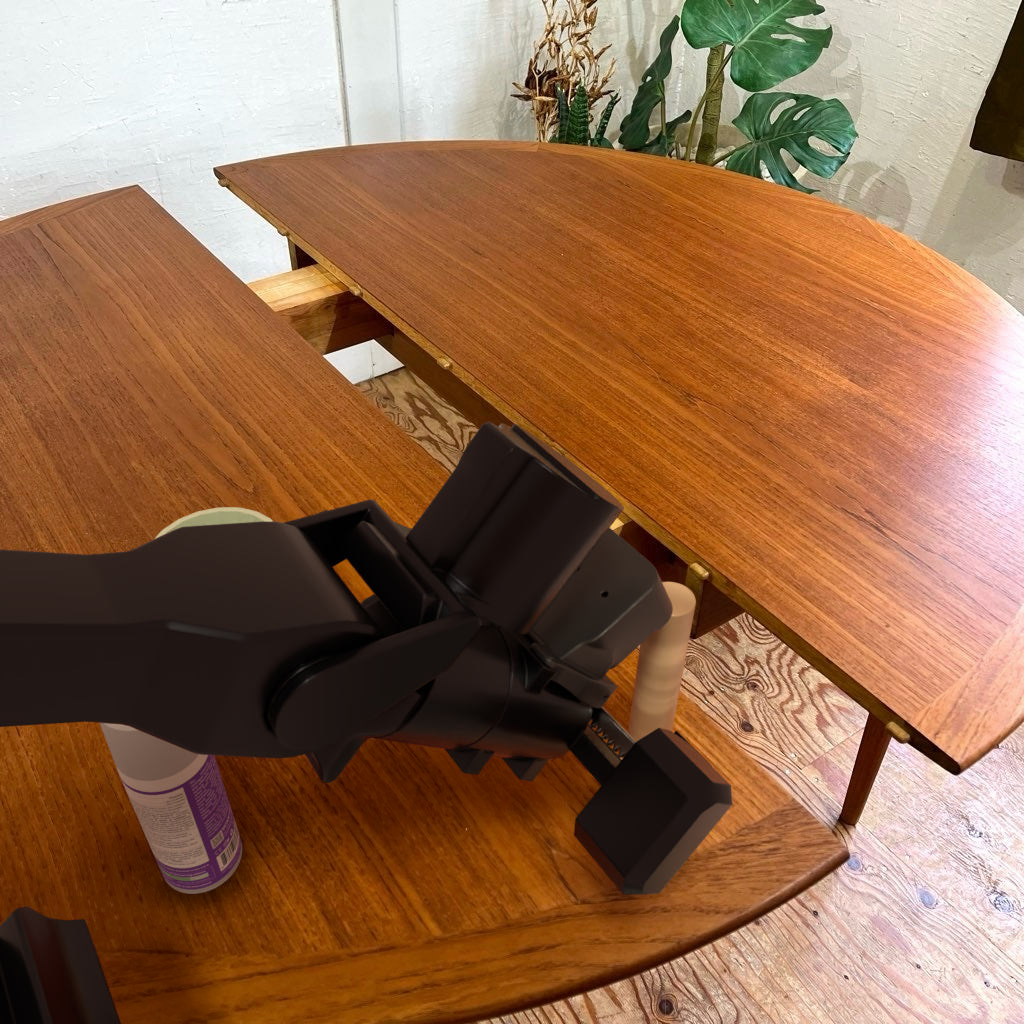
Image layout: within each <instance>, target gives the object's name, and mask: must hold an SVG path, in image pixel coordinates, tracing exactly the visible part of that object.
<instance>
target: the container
mask: <svg viewBox="0 0 1024 1024" xmlns="http://www.w3.org/2000/svg"><path fill="white" fill-rule="evenodd" d="M99 725H100V728H101V730H102V731H101V732H102V734H103V736H104V739H105V741H106V744H107V747H108V749H109V751H110V752H109V753H110V755H111V757H112V760H113V763H114V765H115V767H116V771H117V773H118V775H119V778H120V780H121V782H122V785H123V788H124V790H125V792H126V793H127V797H128V799H129V801H130V803H131V806H132V808H133V810H134V812H135V815H136V817H137V819H138V822H139V824H140V826H141V829H142V832H143V833H144V836H145V838H146V840H147V842H148V845H149V847H150V850H151V853H152V854H153V856H154V859H155V861H156V864H157V866H158V868H159V871H160V874H161V875H162V877H163V879H164V881H165V883H167V885H168V886H169V887H170V888H172V889H173V890H175V891H177V892H180V893H183V894H189V895H190V894H192V895H197V894H202V893H203V894H204V893H207V892H210V891H212V890H214V889H216V888H218V887H220V886H221V885H222V884H224V883H225V882H227V881H228V880H229V879H230V878H231V877H232V875H234V873H235V872H236V870H237V868H238V867H239V865H240V862H241V859H242V855H243V843H242V840H241V836H240V832H239V829H238V826H237V823H236V819H235V817H234V813H233V810H232V806H231V804H230V800H229V797H228V794H227V792H226V787H225V785H224V782H223V778H222V775H221V771H220V769H219V766H218V763H217V759H216V755H201V754H196V753H193V752H190V751H188V750H185V749H183V748H180V747H178V746H176V745H173V744H171V743H168V742H166V741H164V740H161V739H159V738H156V737H154V736H152V735H149V734H147V733H144V732H142V731H139V730H137V729H135V728H132V727H130V726H126V725H122V724H109V723H99Z"/></svg>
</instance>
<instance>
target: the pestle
mask: <svg viewBox="0 0 1024 1024" xmlns="http://www.w3.org/2000/svg"><path fill="white" fill-rule="evenodd" d="M662 583H663V585H664V588H665V590H666V592H667V594H668V596H669V598H670V600H671V603H672V606H673V612H672V615H671V618H670V619H669V621H668V622H667V623H666V624H665V625H664V626H663V627H662V628H661V629H660V630H657V631H655V632H653V633H652V634H651V635H650V636H649V637H648V638H647V639H646V640H645V641H644V642H643V643H641V644H640V645H639V647H638V648H639V649H638V655H637V656H638V657H637V664H636V672H635V679H634V686H633V692H632V700H631V707H630V714H629V722H628V730H627V732H628V733H629V734H630V735H631V736H632V737H633V738H634V739H635V740H636V741H638V740H640V739H641V738H643V737H645V736H646V735H648V734H649V733H651V732H653V731H654V730H656V729H658V728H662V729H666V730H670V731H671V732H673V729H674V723H675V717H676V713H677V707H678V701H679V696H680V692H681V685H682V680H683V675H684V669H685V665H686V659H687V654H688V648H689V642H690V638H691V637H690V636H691V631H692V625H693V621H694V615H695V611H696V604H697V602H696V601H697V600H696V596H695V594H694V592H693V591H692V590H691V589H690V588H689V587H687V586H685V585H684V584H681V583H679V582H676V581H675V582H674V581H662ZM623 758H624V757H623ZM623 758H621V759H623Z"/></svg>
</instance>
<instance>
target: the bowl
mask: <svg viewBox="0 0 1024 1024" xmlns="http://www.w3.org/2000/svg"><path fill="white" fill-rule="evenodd" d="M262 521H267V522H274V520H273V519H272V518H271V517H268V516H267V515H265V514H264V513H262V512H259V511H257V510H253V509H248V508H244V507H238V506H219V507H213V508H209V509H203V510H198V511H196V512H193V513H190V514H187V515H185V516H183V517H180V518H178V519H176V520H175V521H174V522H171V523H170V524H168V526H165V527H164V528H163V529H161V530H160V531H159V533H158V534H157V535H156V536H155V537H154V538H153V539H155V538H158V537H160V536H162V535H164V534H166V533H168V532H170V531H172V530H175V529H178V528H181V527H186V526H201V525H216V524H231V523H247V522H262Z"/></svg>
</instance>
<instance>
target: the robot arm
mask: <svg viewBox="0 0 1024 1024" xmlns="http://www.w3.org/2000/svg"><path fill="white" fill-rule="evenodd" d="M624 509H625V507H624V505H623V504H622V502H621V501H619V500H618V498H616V496H614V495H613V494H612V493H611V492H610V491H609V490H608V489H607V488H605V487H604V486H603V485H602V484H601V483H600V482H598V481H597V480H596V479H594V478H593V477H592V476H591V475H589V474H588V473H587V472H586V471H584V470H583V469H582V468H581V467H579V466H578V465H577V464H575V463H574V462H572V461H571V460H570V459H568V457H566V456H565V455H563V454H562V453H560V452H559V451H558V450H557V449H556V448H555V449H554V447H552V446H550V445H549V444H548V443H546V442H545V441H543V440H542V439H540V438H539V437H538V436H536V435H535V434H533V433H532V432H530V431H528V430H526V429H525V428H524V427H522V426H520V425H519V424H517V423H514V424H512V426H510V425H508V424H506V423H503V422H501V423H500V424H499V425H496V424H495V423H493V422H492V421H487V422H484V423H483V424H481V425H480V427H479V428H478V430H477V432H476V433H474V436H473V437H472V438H471V440H470V441H469V442H468V443H467V445H466V447H465V449H464V450H463V451H462V454H461V456H460V458H459V460H458V462H457V464H456V466H455V468H454V470H453V471H452V473H451V474H450V475H449V477H448V478H447V480H446V481H445V482H444V483H443V485H442V486H441V488H440V489H439V490H438V492H437V493H436V495H435V496H434V497H433V498H432V500H431V501H430V503H429V505H428V506H427V507H426V508H425V510H424V511H423V513H422V514H421V515H420V517H419V518H418V520H417V521H416V522H415V524H414V525H413V526H412V528H410V527H408V526H406V525H403V524H401V523H399V522H396V521H394V520H393V519H392V518H391V517H390V515H389V514H388V513H387V512H386V511H385V510H384V509H383V507H382V506H381V505H380V504H379V503H378V501H376V500H375V499H366V500H362V501H359V502H354V503H351V504H347V505H344V506H340V507H336V508H333V509H329V510H328V509H324V510H322V511H320V512H318V513H317V512H316V513H314V514H310V515H306V516H303V517H298V518H295V519H292V520H287V521H285V522H280V521H273V522H267V521H262V522H247V523H231V524H216V525H201V526H186V527H181V528H178V529H175V530H172V531H170V532H168V533H166V534H164V535H162V536H160V537H158V538H155V537H154V538H155V539H154V538H153V539H151V540H149V541H147V542H145V543H143V544H141V545H138V546H136V547H134V548H132V549H130V550H126V551H116V552H115V551H114V552H105V553H104V552H103V553H102V552H101V553H91V554H90V553H89V554H88V553H87V554H86V553H84V554H83V553H68V552H53V551H34V550H33V551H32V550H18V549H17V550H15V549H0V728H6V727H7V728H8V727H23V726H24V727H25V726H37V725H38V726H39V725H55V724H57V725H58V724H72V723H96V724H97V723H98V724H100V723H109V724H122V725H126V726H130V727H132V728H135V729H137V730H139V731H142V732H144V733H147V734H149V735H152V736H154V737H156V738H159V739H161V740H164V741H166V742H168V743H171V744H173V745H176V746H178V747H180V748H183V749H185V750H188V751H190V752H193V753H196V754H201V755H214V756H218V757H219V756H222V757H238V758H256V759H257V758H258V759H288V758H294V757H295V758H296V757H299V756H303V755H305V758H306V759H307V761H308V762H309V764H310V765H311V767H312V769H313V770H314V772H315V773H316V775H317V777H318V778H319V780H320V781H321V782H322V783H323V784H330V783H331V784H332V783H333V782H335V781H336V780H337V779H338V778H339V777H340V775H341V774H342V773H343V771H344V770H345V769H346V767H347V766H348V764H349V763H350V762H351V761H352V759H353V758H354V757H355V756H356V754H357V753H358V751H359V750H360V749H361V748H362V746H363V745H365V743H366V742H367V741H369V740H371V739H374V740H375V739H376V740H382V741H388V742H396V743H402V744H409V745H416V746H424V747H428V748H429V747H430V748H436V749H442V750H445V751H446V753H447V754H448V756H449V757H450V758H451V759H452V761H453V762H454V763H455V765H456V766H457V767H458V769H459V770H460V771H461V772H462V774H465V775H473V776H474V775H475V776H479V774H480V773H481V772H482V770H483V769H484V768H485V766H486V765H487V763H489V762H490V760H491V759H492V757H498V758H501V759H502V760H503V761H504V763H505V764H506V765H507V767H508V768H509V769H510V770H511V771H512V772H513V774H514V775H515V776H516V777H517V778H518V780H519V781H525V782H533V781H534V780H535V779H536V778H537V776H538V775H539V773H541V771H542V770H543V769H544V767H545V766H546V765H547V764H548V762H549V761H551V760H552V761H554V760H555V761H556V760H558V759H560V758H561V757H563V756H565V755H566V754H567V753H569V752H571V753H572V754H573V756H574V757H575V758H576V759H577V761H579V763H581V765H582V766H583V767H584V768H585V769H586V770H587V772H588V773H589V774H590V775H591V776H592V777H593V778H594V779H595V781H597V783H598V785H600V786H599V788H598V789H597V791H596V792H595V793H594V794H593V796H591V798H590V799H589V801H587V803H586V805H584V807H583V808H582V810H580V812H579V813H578V814H577V816H576V817H575V818H574V827H573V828H574V829H573V830H574V831H573V836H574V838H576V840H577V841H578V842H579V843H580V845H581V846H582V847H583V848H584V850H586V852H587V854H589V856H590V857H592V859H593V861H594V862H595V863H596V864H597V865H598V866H599V868H600V869H601V870H602V871H603V873H604V874H605V875H606V877H608V879H609V880H610V882H612V884H613V885H614V886H615V887H616V889H617V890H618V891H619V892H620V893H621V894H622V895H638V896H639V895H640V896H641V895H642V896H643V895H644V896H645V895H660V894H661V893H662V891H663V890H664V889H665V888H666V887H667V885H668V884H669V883H670V882H671V881H672V880H673V878H674V877H675V876H676V875H677V873H678V872H679V871H680V870H681V868H682V867H683V866H684V865H685V864H686V862H687V861H688V860H689V859H690V857H691V856H692V855H693V854H694V852H695V851H696V850H697V849H698V848H699V846H700V845H701V844H702V843H703V842H704V841H705V839H706V838H707V836H709V834H710V833H711V832H712V830H713V829H714V828H715V827H716V825H717V824H718V823H720V821H721V820H722V818H723V817H724V816H725V815H726V813H727V812H728V811H729V810H730V808H731V807H732V806H733V795H732V794H733V792H732V785H731V784H730V782H728V780H726V779H725V778H724V776H722V775H721V773H719V772H718V771H717V769H716V768H715V767H713V765H712V764H711V763H710V762H709V761H708V760H707V759H706V758H705V757H704V756H703V755H702V754H701V753H700V752H699V751H698V750H697V749H696V748H695V747H694V746H693V745H692V744H691V743H690V741H688V740H687V739H686V738H685V737H684V736H683V735H682V734H681V733H680V732H679V731H678V730H674V732H673V731H672V732H671V731H670V730H666V729H662V728H658V729H656V730H654V731H653V732H651V733H649V734H648V735H646V736H645V737H643V738H641V739H640V740H638V741H636V740H635V739H634V738H633V737H632V736H631V735H630V734H629V733H628V730H626V728H625V727H624V726H623V725H622V724H621V723H620V722H619V721H618V720H617V719H616V718H615V717H614V716H613V715H612V714H611V713H610V712H609V710H607V708H605V704H606V703H607V702H608V700H609V699H610V698H611V696H612V695H613V694H614V692H615V691H616V690H617V689H618V685H617V684H616V683H615V682H614V681H612V679H610V677H609V676H607V674H608V672H609V671H610V670H613V669H615V668H616V667H617V666H619V665H620V664H621V663H622V662H624V660H626V658H627V657H629V656H630V655H631V654H632V653H633V652H634V651H635V650H636V649H637V648H639V647H640V644H641V643H643V642H644V641H645V640H646V639H647V638H648V637H649V636H650V635H651V634H652V633H653V632H655V631H657V630H660V629H661V628H662V627H663V626H664V625H665V624H666V623H667V622H668V621H669V619H670V618H671V615H672V612H673V606H672V603H671V600H670V598H669V596H668V594H667V592H666V590H665V588H664V585H663V583H662V582H663V580H662V579H661V577H660V575H659V573H658V570H657V568H656V566H655V565H654V564H653V563H652V562H651V561H650V560H648V558H646V557H645V556H644V555H642V554H641V552H639V551H638V550H637V549H636V548H634V547H633V545H631V544H629V543H628V542H627V541H626V540H625V539H624V538H623V537H622V536H620V535H619V534H618V533H616V532H615V531H614V530H613V529H612V528H611V527H612V526H613V524H614V523H615V521H616V520H617V519H618V518H619V517H620V515H621V514H622V513H623V511H624ZM344 561H347V562H348V563H349V564H350V566H351V567H352V568H353V569H354V571H355V572H356V573H357V575H358V576H359V577H360V578H361V580H362V581H363V583H365V584H366V586H367V587H368V589H370V591H371V592H372V593H373V594H371V595H370V596H367V597H366V598H365V599H363V600H362V601H361V602H360V600H359V599H358V598H357V596H356V595H355V594H354V593H353V591H352V590H351V588H350V587H349V586H348V585H347V583H346V582H345V581H344V579H343V578H342V577H341V575H340V574H339V573H338V572H337V570H336V569H335V568H334V567H335V566H337V565H339V564H340V563H342V562H344ZM617 752H618V753H617ZM623 757H624V758H623ZM621 758H623V759H621ZM95 945H96V944H94V941H93V938H92V935H91V932H90V930H89V927H88V923H87V920H86V919H85V918H80V919H79V918H78V919H67V920H66V919H60V918H59V919H58V918H52V917H50V916H46V915H45V914H43V913H40V912H39V911H37V910H35V909H34V908H32V907H30V906H28V905H26V906H20V907H17V908H16V909H14V910H13V911H12V912H11V913H10V914H9V915H8V916H7V918H6V919H4V921H2V923H1V924H0V1024H122V1021H121V1019H120V1015H119V1013H118V1009H117V1007H116V1003H115V1001H114V998H113V995H112V992H111V989H110V986H109V984H108V980H107V977H106V975H105V972H104V968H103V965H102V963H101V960H100V957H99V953H98V951H97V949H96V946H95Z"/></svg>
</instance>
